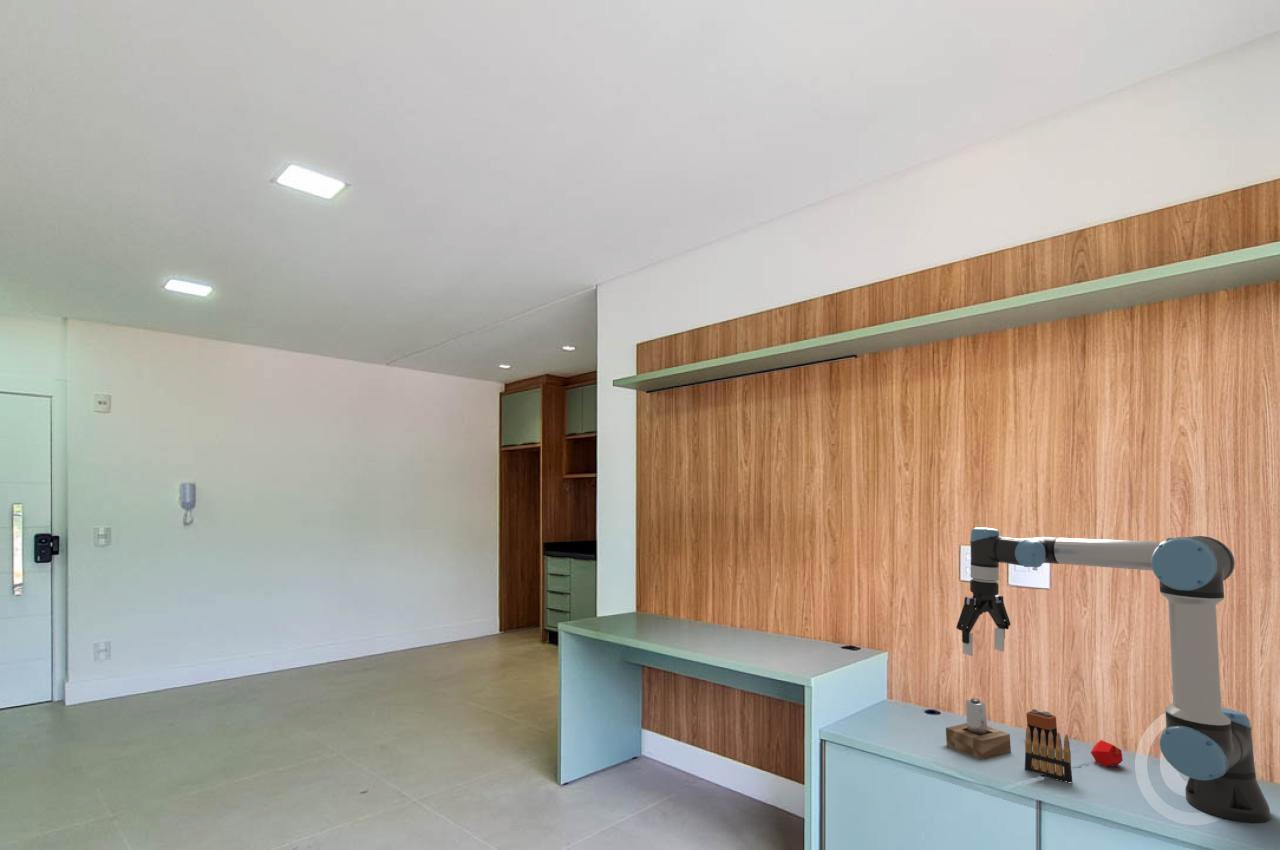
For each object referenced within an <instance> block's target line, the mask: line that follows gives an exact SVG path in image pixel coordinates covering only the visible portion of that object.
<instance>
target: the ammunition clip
mask: <svg viewBox="0 0 1280 850" xmlns="http://www.w3.org/2000/svg"><path fill="white" fill-rule="evenodd" d="M1025 729H1026V730H1025V740H1024V748H1025V749H1024V751H1025V752H1024V753H1025V754H1024V755H1025V757H1024V770H1025V771H1030V772H1032V773H1033V772H1034V773H1037V774H1041V775H1040V776H1041V777H1044V778H1049V779H1054V780H1056V779H1058V780H1057V781H1060V780H1062V781H1061V782H1064V781H1067V782H1066V783H1068V782H1072V783H1073V774H1072V773H1073V772H1072V755H1071V748H1070V747H1071V746H1070V739H1069V735H1068V734H1067V733H1066V734H1065V736H1064V740H1063V744H1062V738H1061V734H1060V732H1057V737H1056V748H1054V742H1053V735H1052V732H1051V731H1050V732H1049V736H1048V746H1047V745H1046V736H1045V732H1044V729H1042V731H1041V742H1040V744H1039V739H1038V732H1037V729H1036V727H1035V729H1034V732H1033V742H1032V741H1031V732H1030V728H1029V726H1027V725H1026V728H1025ZM1062 745H1063V746H1062Z"/></svg>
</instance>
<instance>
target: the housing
mask: <svg viewBox="0 0 1280 850" xmlns="http://www.w3.org/2000/svg"><path fill="white" fill-rule="evenodd" d="M945 737H946V739H945V740H946V746H947V747H950V748H952V749H954V750H957V751H960V752H962V753H965V754H967V755H970V756H972V757H975V758H978V759H980V760H986V759H990V758H991V759H992V758H993V757H994V758H995V757H998V756H1002V755H1005V754H1009V753H1012V748H1011V746H1012V745H1011V735H1010V733H1007V732H1005V731H1001V730H999V729H996V728H993V727H991V726H987V734H985V735H981V736H978V735H976V734H973V733H970V732H968V731H967V722H966V723H961V724H957V725H952V726H946V727H945Z"/></svg>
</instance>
